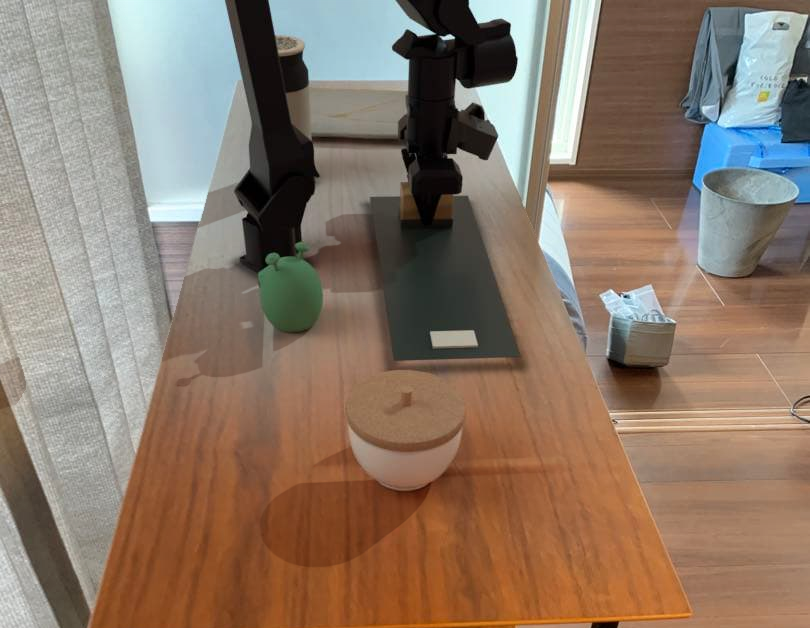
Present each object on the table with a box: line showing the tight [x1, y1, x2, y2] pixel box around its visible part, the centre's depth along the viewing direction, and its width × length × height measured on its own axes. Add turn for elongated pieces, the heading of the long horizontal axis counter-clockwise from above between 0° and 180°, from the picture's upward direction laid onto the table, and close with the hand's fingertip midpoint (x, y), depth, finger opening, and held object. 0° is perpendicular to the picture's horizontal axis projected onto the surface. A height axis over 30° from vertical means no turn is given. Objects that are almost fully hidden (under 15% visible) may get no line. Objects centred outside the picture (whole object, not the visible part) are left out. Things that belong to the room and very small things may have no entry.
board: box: [369, 195, 522, 362], centre depth 104 cm, size 40×14×1 cm, turn 5°
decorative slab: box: [309, 86, 408, 140], centre depth 138 cm, size 27×21×2 cm
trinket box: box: [345, 369, 467, 492], centre depth 76 cm, size 11×11×9 cm
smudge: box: [430, 330, 478, 349], centre depth 92 cm, size 3×5×1 cm, turn 96°
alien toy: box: [257, 241, 324, 333], centre depth 91 cm, size 7×8×10 cm
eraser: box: [398, 181, 454, 228], centre depth 110 cm, size 4×7×4 cm, turn 95°
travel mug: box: [275, 34, 313, 142], centre depth 116 cm, size 8×8×18 cm
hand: (425, 217), depth 111 cm, fingers closed on eraser, 4 cm apart
